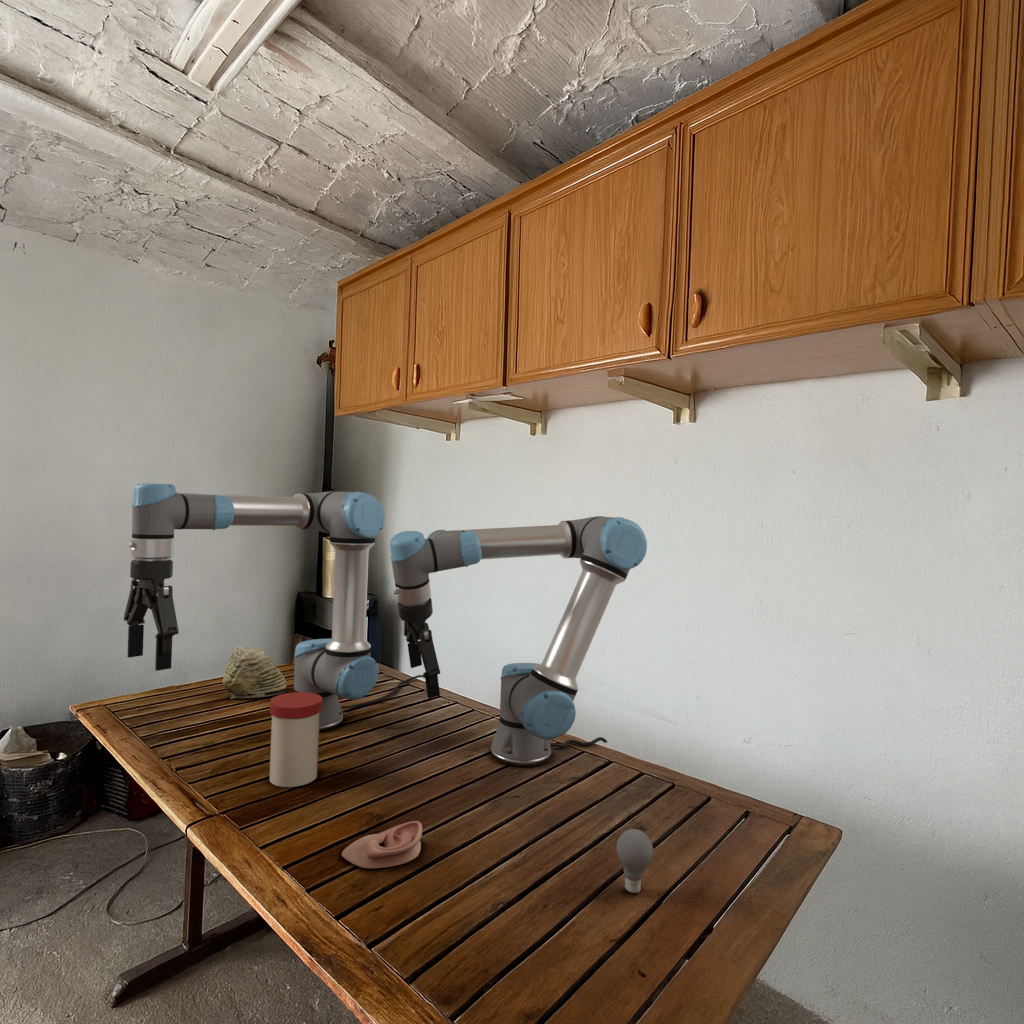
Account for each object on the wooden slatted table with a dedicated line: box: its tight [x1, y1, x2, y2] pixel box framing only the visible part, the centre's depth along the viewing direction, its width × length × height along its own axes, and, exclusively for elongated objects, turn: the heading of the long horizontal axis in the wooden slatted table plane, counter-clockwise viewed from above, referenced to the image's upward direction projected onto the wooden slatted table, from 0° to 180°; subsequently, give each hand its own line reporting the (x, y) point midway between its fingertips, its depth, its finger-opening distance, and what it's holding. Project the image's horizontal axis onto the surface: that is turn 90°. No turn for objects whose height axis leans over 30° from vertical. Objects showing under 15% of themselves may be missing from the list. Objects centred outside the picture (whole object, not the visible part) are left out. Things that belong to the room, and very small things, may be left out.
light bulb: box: [615, 828, 654, 894], centre depth 106 cm, size 6×6×10 cm
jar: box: [268, 712, 320, 788], centre depth 142 cm, size 10×10×17 cm
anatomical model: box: [341, 820, 423, 870], centre depth 114 cm, size 13×4×12 cm
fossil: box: [222, 646, 288, 699], centre depth 198 cm, size 9×18×15 cm, turn 132°
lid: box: [269, 691, 322, 719], centre depth 142 cm, size 11×11×2 cm
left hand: (148, 662), depth 129 cm, fingers open, 13 cm apart
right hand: (424, 680), depth 148 cm, fingers open, 13 cm apart
